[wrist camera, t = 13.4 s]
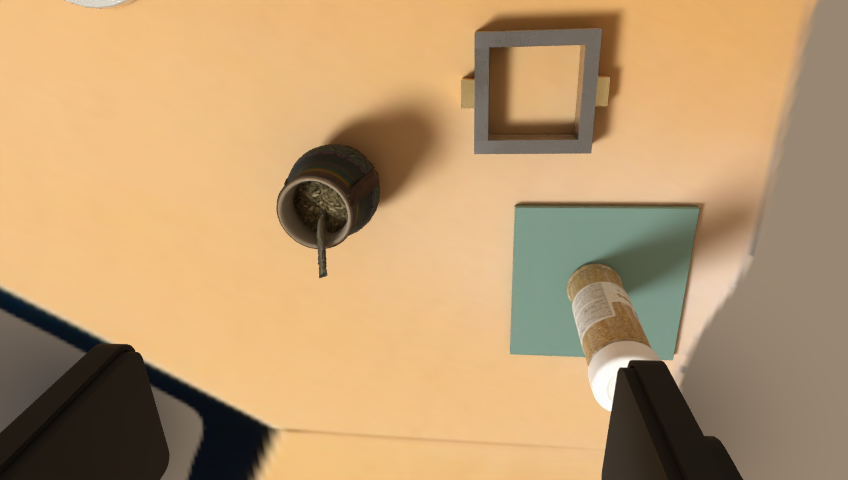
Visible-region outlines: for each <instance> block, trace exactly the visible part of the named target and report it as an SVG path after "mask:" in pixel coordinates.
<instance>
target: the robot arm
mask: <svg viewBox="0 0 848 480" xmlns="http://www.w3.org/2000/svg"><path fill="white" fill-rule="evenodd" d="M65 1H67V2H69V3H72V4H75V5H79V6H82V7H86V8H100V9H102V8H117V7H120V6H124V5H127V4H130V3H132V2H133V1H135V0H65ZM168 463H169V450H168V446H167V443H166V439H165V436H164V432H163V429H162V425H161V421H160V418H159V414H158V411H157V407H156V404H155V401H154V397H153V393H152V390H151V386H150V383H149V379H148V376H147V372H146V369H145V365H144V362H143V358H142V356H141V354H140V353H138V352H135V350H134V348H133V347H132V346H131V345H128V344H98V345H96V346H95V347H93V348H92V349H91V350H90V351H89V352H88V353H87V354H86V355H84V357H82V358H81V359H80V360H79V361H78V362H77V363H76V364H75V365H74V366H73V367H72V368H70V369H69V370H68V371H67V372H66V373H65V374H64V375H63V376H62V377H61V378H60V379H58V380H57V381H56V382H55V383H54V384H53V385H52V386H51V387H50V388H49V389H48V390H47V391H46V392H44V393H43V394H42V395H41V396H40V397H39V398H38V399H37V400H36V401H35V402H34V403H33V404H31V405H30V406H29V407H28V408H27V409H26V410H25V411H24V412H23V413H22V414H21V415H19V416H18V417H17V418H16V419H15V420H14V421H13V422H12V423H11V424H10V425H9V426H8V427H6V428H5V429H4V430H3V431H2V432H1V433H0V480H160V479H161V477H162V476H163V474H164V473H165V471H166V469H167V466H168ZM602 480H743V479H742V477H741V476H740V473H739V472H738V470H737V468H736V466H735V465H734V463H733V461H732V459H731V458H730V456H729V454H728V452H727V450H726V449H725V447H724V446H723V444H722V443H721V441H720V440H719V439H717V438H716V437H713V436H704V435H703V433H702V431H701V429H700V428H699V426H698V424H697V422H696V420H695V418H694V416H693V414H692V412H691V411H690V409H689V407H688V405H687V403H686V401H685V399H684V397H683V396H682V394H681V392H680V390H679V388H678V386H677V384H676V382H675V381H674V379H673V377H672V375H671V373H670V371H669V369H668V367H667V366H666V364H665V363H664V362H663V361H656V360H630V361H629V363H628V366H627V367H620V368H619V369H618V372H617V378H616V384H615V391H614V397H613V404H612V410H611V417H610V423H609V429H608V436H607V442H606V449H605V455H604V462H603V468H602Z"/></svg>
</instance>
